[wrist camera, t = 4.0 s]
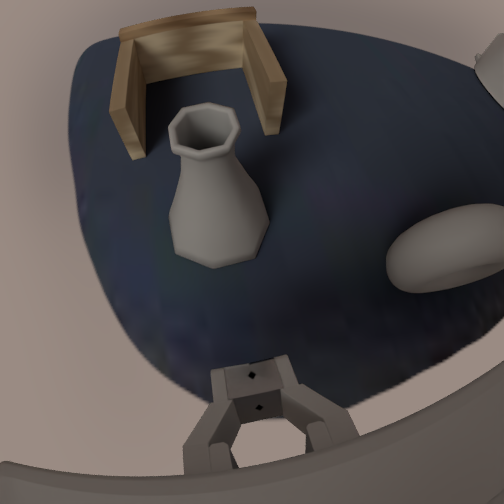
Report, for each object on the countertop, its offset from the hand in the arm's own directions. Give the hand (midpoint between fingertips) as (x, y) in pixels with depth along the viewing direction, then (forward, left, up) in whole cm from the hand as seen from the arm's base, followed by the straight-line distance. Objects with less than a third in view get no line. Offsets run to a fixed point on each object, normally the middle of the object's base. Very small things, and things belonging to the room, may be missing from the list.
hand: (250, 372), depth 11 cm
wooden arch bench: (0, -22, -8) cm, 23 cm away
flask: (0, -10, -8) cm, 13 cm away
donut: (-14, -3, -8) cm, 16 cm away
